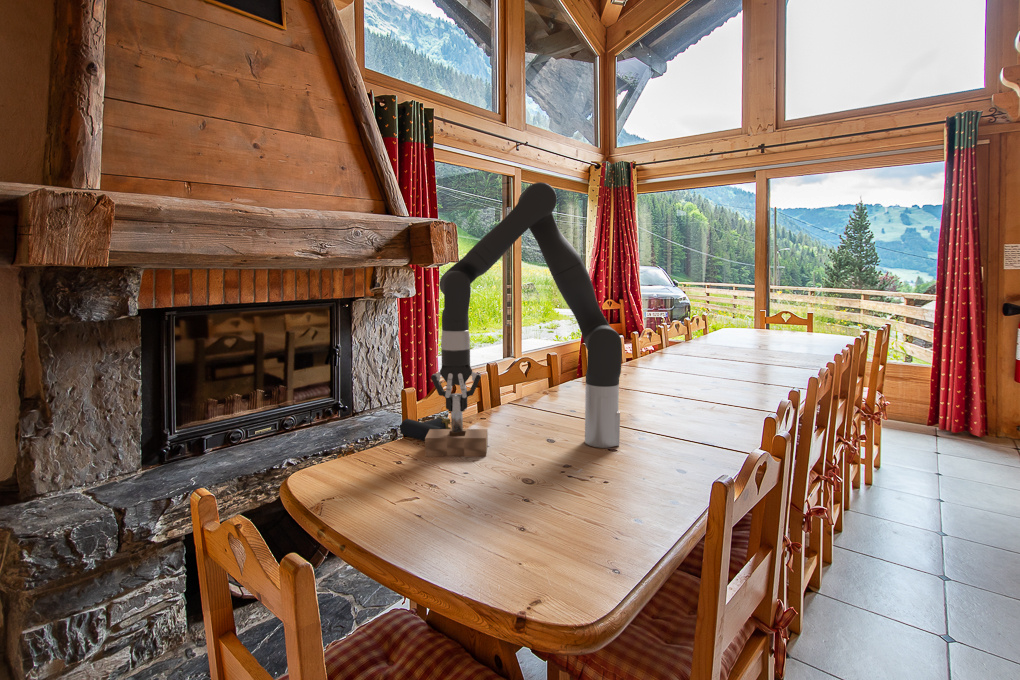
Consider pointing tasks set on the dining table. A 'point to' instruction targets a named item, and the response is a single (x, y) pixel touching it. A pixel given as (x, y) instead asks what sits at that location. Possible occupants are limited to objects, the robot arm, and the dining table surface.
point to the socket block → (456, 443)
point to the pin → (456, 413)
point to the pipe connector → (422, 427)
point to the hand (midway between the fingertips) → (456, 410)
